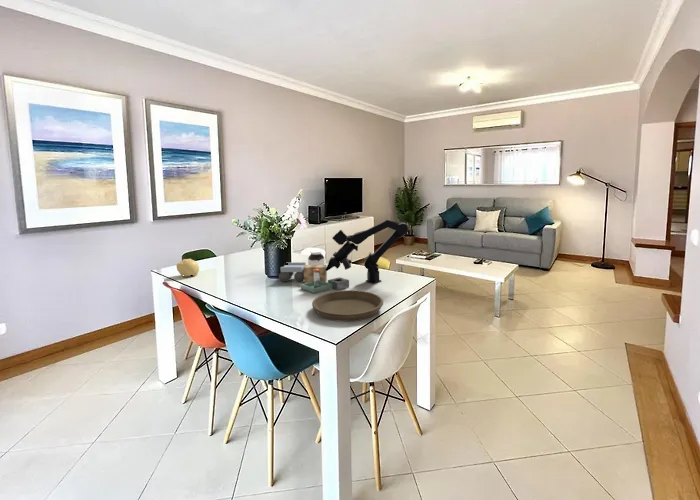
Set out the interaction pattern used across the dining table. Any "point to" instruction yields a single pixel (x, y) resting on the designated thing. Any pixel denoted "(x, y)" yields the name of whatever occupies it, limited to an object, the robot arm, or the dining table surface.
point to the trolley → (292, 271)
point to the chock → (310, 274)
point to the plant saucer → (347, 305)
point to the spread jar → (316, 258)
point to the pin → (316, 278)
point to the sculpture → (188, 267)
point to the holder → (339, 283)
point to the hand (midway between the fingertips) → (326, 270)
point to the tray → (310, 288)
